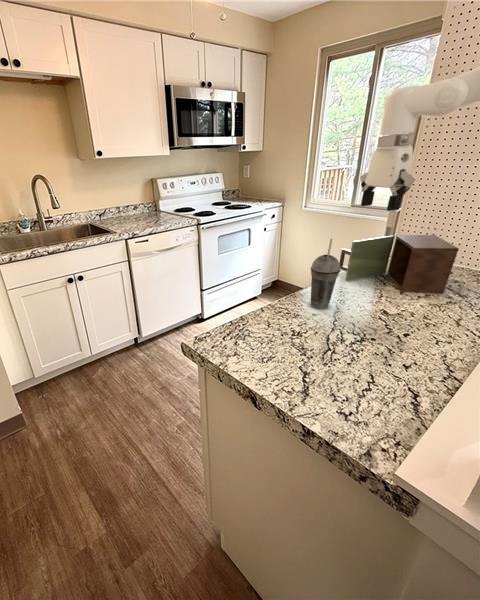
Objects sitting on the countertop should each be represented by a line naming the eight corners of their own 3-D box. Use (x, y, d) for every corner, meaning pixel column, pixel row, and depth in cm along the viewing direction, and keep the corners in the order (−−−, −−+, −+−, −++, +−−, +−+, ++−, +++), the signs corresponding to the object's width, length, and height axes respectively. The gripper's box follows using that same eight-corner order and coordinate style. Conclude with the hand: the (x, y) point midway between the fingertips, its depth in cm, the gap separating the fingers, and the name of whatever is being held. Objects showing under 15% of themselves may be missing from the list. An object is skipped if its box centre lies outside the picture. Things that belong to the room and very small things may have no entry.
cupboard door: (334, 275, 110) (340, 237, 104) (371, 269, 112) (379, 232, 106) (346, 280, 105) (354, 241, 99) (385, 274, 107) (395, 235, 101)
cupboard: (401, 291, 94) (414, 248, 89) (386, 274, 107) (396, 235, 101) (443, 293, 91) (458, 248, 85) (422, 275, 103) (434, 234, 98)
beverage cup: (301, 307, 92) (310, 241, 83) (311, 298, 96) (320, 235, 88) (327, 314, 87) (340, 244, 78) (337, 304, 91) (350, 237, 82)
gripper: (437, 139, 75) (417, 210, 82) (380, 142, 91) (368, 202, 98) (408, 142, 75) (391, 214, 82) (356, 144, 90) (345, 205, 97)
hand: (378, 207), depth 90 cm, fingers open, 9 cm apart
